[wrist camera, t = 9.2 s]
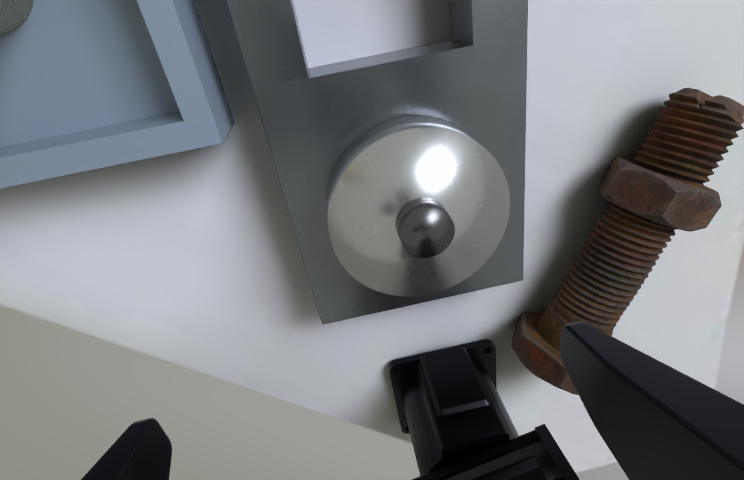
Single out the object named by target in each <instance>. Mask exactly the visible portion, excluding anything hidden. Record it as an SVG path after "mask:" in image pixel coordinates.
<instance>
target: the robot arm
mask: <svg viewBox="0 0 744 480" xmlns="http://www.w3.org/2000/svg"><path fill="white" fill-rule="evenodd" d="M486 347H487V348H486ZM485 348H486V349H485ZM560 357H561V360H562V362H563V365H564V367H565V369H566V370H567V372H568V374H569V376H570V378H571V380H572V382H573V384H574V386H575V388H576V390H577V392H578V394H579V396H580V398H581V400H582V402H583V404H584V406H585V408H586V410H587V412H588V414H589V416H590V418H591V419H592V421H593V423H594V425H595V427H596V428H597V430H598V432H599V433H600V435H601V437H602V438H603V440H604V441H605V443H606V444H607V446H608V447H609V449H610V450H611V452H612V454H613V455H614V457H615V458H616V460H617V461H618V463H619V464H620V466H621V467H622V469H623V470H624V472H625V474H626V475H627V477H628V478H629V480H744V405H743V404H741V403H739V402H737V401H735V400H733V399H731V398H730V397H728V396H726V395H723V394H722V393H720V392H718V391H716V390H714V389H712V388H710V387H708V386H706V385H704V384H702V383H701V382H699V381H697V380H695V379H693V378H691V377H689V376H687V375H685V374H683V373H681V372H679V371H677V370H675V369H673V368H671V367H670V366H668V365H666V364H664V363H662V362H660V361H658V360H656V359H654V358H652V357H650V356H648V355H646V354H644V353H642V352H640V351H639V350H637V349H635V348H633V347H631V346H629V345H627V344H625V343H623V342H621V341H619V340H617V339H615V338H613V337H611V336H609V335H608V334H606V333H604V332H602V331H600V330H598V329H596V328H594V327H592V326H590V325H588V324H586V323H584V322H575V323H570V324H566V325H564V326H563V327H562V330H561V341H560ZM397 367H400V368H398V369H395V368H397ZM389 371H390V376H391V381H392V386H393V391H394V396H395V400H396V405H397V410H398V415H399V420H400V425H401V429H402V432H404V433H410V435H411V439H412V443H413V447H414V451H415V455H416V460H417V463H418V468H419V472H420V477H417V478H415V479H412V480H579V478H578V477H577V475H576V473H575V472H574V470H573V469H572V467H571V465H570V464H569V462H568V461H567V459H566V457H565V456H564V454H563V453H562V451H561V449H560V448H559V446H558V445H557V443H556V441H555V440H554V438H553V437H552V435H551V433H550V432H549V430H548V429H547V427H546V425H545V424H543V425H540V426H538V427H535V430H533V431H531V432H528V433H526V434H524V435H521V436H519V435H518V433H517V431H516V429H515V427H514V425H513V423H512V421H511V419H510V417H509V415H508V413H507V411H506V409H505V407H504V405H503V403H502V401H501V399H500V396H499V394H498V392H497V390H496V353H495V346H494V344H493V342H492V341H491V340H488V339H487V340H481V341H476V342H472V343H468V344H463V345H459V346H454V347H450V348H445V349H441V350H437V351H432V352H428V353H423V354H419V355H414V356H410V357H405V358H401V359H397V360H394V361H392V362H391V363H390V364H389ZM171 455H172V446H171V442H170V440H169V438H168V436H167V435H166V433H165V432H164V430H163V429H162V427H161V426H160V424H159V423H158V421H157V420H156V419H154V418H149V419H145V420H141V421H136V422H134V423H133V424H131V425H130V426H129V427H128V428H127V430H126V431H125V432H124V433H123V434H122V435H121V436H120V437H119V438H118V439H117V441H116V442H115V443H114V444H113V445H112V446H111V447H110V448H109V449H108V450H107V452H106V453H105V454H104V455H103V456H102V457H101V458H100V459H99V460H98V462H97V463H96V464H95V465H94V466H93V467H92V468H91V469H90V470H89V472H88V473H87V474H86V475H85V476H84V477H83V478H82V479H81V480H169V473H170V465H171Z"/></svg>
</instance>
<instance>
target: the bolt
mask: <svg viewBox="0 0 744 480" xmlns="http://www.w3.org/2000/svg"><path fill="white" fill-rule="evenodd" d="M669 97H670V100H669V101H665V102H664V104H665V107H664V108H660V111H661V115H657V116H656V118H657V120H658V121H657V122H653V123H652V124H653V128H654V129H650V130H648V132H649V135H650V136H646V137H644V139H645V142H646V143H642V144H640V145H641V148H642V150H638V151H636V152H637V154H638V156H637V157H634V158H633V160H634V161H633V160H630V159H626V158H622V157H619V158H617V159H615V160H613V161H612V163H611V164H610V166H609V168H608V170H607V172H606V174H605V175H604V177H603V179H602V181H601V183H600V186H599V193H600V195H601V196H602V197H604V198H605V199H607V200H608V201H610V202H607V203H608V205H609V207H608V208H604V210H605V212H606V213H604V214H601V217H602V219H600V220H597V222H598V224H599V225H596V226H594V229H595V230H596V231H591V235H592V236H589V237H588V242H586V243H585V244H584V245H585V247H584V248H582V249H581V252H582V253H580V254H578V258H577V259H576V260H575V264H573V265H572V269H571V270H569V274H568V275H567V276H566V280H564V281H563V285H561V287H560V290H559V291H558V294H557V295H556V296H555V298H554V299H553V300H551V301H550V303H549V305H548V306H547V308H546V310H545V312H544V313H543V315H542V314H536V313H530V312H523V313H522V315H521V317H520V319H519V320H518V322H517V324H516V326H515V329H514V332H513V336H512V348H513V350H514V351H515V353H516V354H517V356H518V357H519V359H520V360H521V362H522V363H523V364H524V365H525V367H526V368H527V369H529V370H530V371H531V372H532V373H533V374H534V375H536V376H537V377H539V378H541V379H543V380H544V381H546V382H548V383H550V384H552V385H553V386H555V387H558V388H560V389H562V390H565V391H567V392H570V393H572V394H576V395H579V394H578V392H577V390H576V388H575V386H574V384H573V382H572V380H571V378H570V376H569V374H568V372H567V370H566V369H565V367H564V365H563V362H562V360H561V357H560V341H561V330H562V327H563V326H564V325H566V324H570V323H575V322H584V323H586V324H588V325H590V326H592V327H594V328H596V329H598V330H600V331H602V332H604V333H606V334H608V335H609V336H612V334H613V332H612V331H613V329H614V327H615V326H616V323H617V322H618V320H619V319H620V316H621V315H622V314H623V312H624V311H625V310H626V308H627V306H629V304H630V301H632V300H633V298H634V296H635V295H636V294H637V290H639V289H640V288H641V284H643V283H644V280H645V278H647V277H648V273H649V272H651V271H652V267H653V266H654V265H655V264H656V263H655V261H656V260H658V259H659V256H658V254H661V253H663V250H662V248H665V247H667V244H666V242H670V241H671V238H670V236H673V235H675V232H674V230H675V229H680V230H685V231H695V230H699V229H703V228H706V227H707V226H708V224H709V223H710V221H711V220H712V219H713V217H714V216H715V214H716V213H717V211H718V210H719V208H720V207H721V201H720V197H719V194H718V192H716V191H715V190H713V189H711V188H708V187H706V186H704V185H703V183H704V182H708V181H710V180H709V179H708V177H707V176H709V175H713V174H714V172H713V171H712V169H714V168H717V167H719V166H718V164H717V163H716V162H718V161H721V160H723V157H722V156H721V154H724V153H727V152H728V150H727V148H726V147H727V146H730V145H733V143H732V141H731V140H730V139H733V138H736V137H739V136H738V135H737V134H736V131H739V130H741V129H744V128H743V127H742V126H741V124H742V123H743V122H744V117H743V116H744V106H743V105H741V104H740V103H738V102H736V101H734V100H732V99H730V98H728V97H724V96H721V95H719V96H714V97H712V96H710V95H708V94H706V93H704V92H702V91H700V90H697V89H691V88H684V89H682V90H680V91H678V92H675V93H672V94H669Z"/></svg>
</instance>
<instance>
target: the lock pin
mask: <svg viewBox="0 0 744 480" xmlns="http://www.w3.org/2000/svg"><path fill="white" fill-rule="evenodd" d="M33 3H34V0H0V36H1V35H5V34H8V33H10V32H13V31H15V30H16V29H17V28H19V27H20V26H21V25H22V24H23V23H24V22H25V21H26V19H27V18H28V16H29V15H30V12H31V10H32V7H33Z"/></svg>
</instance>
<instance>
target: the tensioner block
mask: <svg viewBox="0 0 744 480" xmlns="http://www.w3.org/2000/svg"><path fill="white" fill-rule="evenodd" d="M226 1H227V5H228V8H229V11H230V15H231V18H232V21H233V25H234V28H235V32H236V35H237V38H238V42H239V45H240V49H241V52H242V55H243V59H244V62H245V65H246V69H247V72H248V76H249V79H250V82H251V86H252V89H253V92H254V96H255V99H256V103H257V106H258V109H259V113H260V116H261V119H262V123H263V126H264V130H265V133H266V136H267V140H268V143H269V146H270V150H271V153H272V157H273V160H274V163H275V167H276V170H277V173H278V177H279V180H280V184H281V187H282V190H283V194H284V197H285V200H286V204H287V207H288V211H289V214H290V217H291V221H292V224H293V227H294V231H295V234H296V238H297V241H298V244H299V248H300V251H301V254H302V258H303V261H304V265H305V268H306V271H307V275H308V278H309V281H310V285H311V288H312V292H313V295H314V298H315V302H316V305H317V308H318V312H319V315H320V319H321V322H322V325H323V324H327V323H332V322H336V321H341V320H345V319H350V318H354V317H359V316H363V315H368V314H372V313H377V312H381V311H386V310H390V309H395V308H400V307H404V306H409V305H413V304H418V303H422V302H427V301H431V300H436V299H440V298H445V297H449V296H454V295H458V294H463V293H467V292H472V291H476V290H481V289H485V288H490V287H495V286H499V285H504V284H508V283H513V282H517V281H522V280H523V247H524V190H525V133H526V76H527V19H528V0H450V10H451V25H452V40H450V41H445V42H440V43H435V44H430V45H425V46H420V47H415V48H410V49H405V50H400V51H395V52H390V53H385V54H380V55H375V56H370V57H365V58H360V59H355V60H349V61H344V62H339V63H334V64H329V65H324V66H319V67H314V68H309V69H308V66H307V61H306V57H305V53H304V48H303V44H302V39H301V35H300V31H299V26H298V22H297V17H296V13H295V9H294V4H293V0H226Z"/></svg>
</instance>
